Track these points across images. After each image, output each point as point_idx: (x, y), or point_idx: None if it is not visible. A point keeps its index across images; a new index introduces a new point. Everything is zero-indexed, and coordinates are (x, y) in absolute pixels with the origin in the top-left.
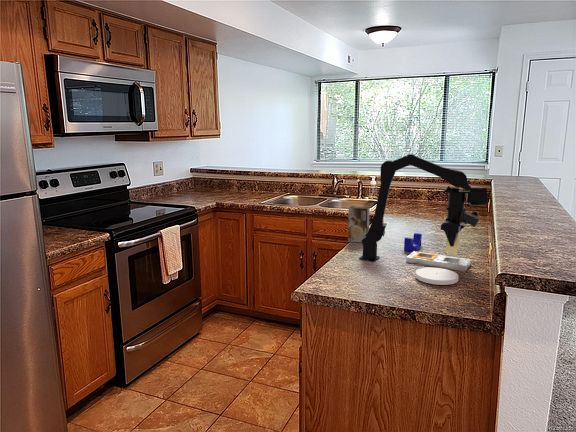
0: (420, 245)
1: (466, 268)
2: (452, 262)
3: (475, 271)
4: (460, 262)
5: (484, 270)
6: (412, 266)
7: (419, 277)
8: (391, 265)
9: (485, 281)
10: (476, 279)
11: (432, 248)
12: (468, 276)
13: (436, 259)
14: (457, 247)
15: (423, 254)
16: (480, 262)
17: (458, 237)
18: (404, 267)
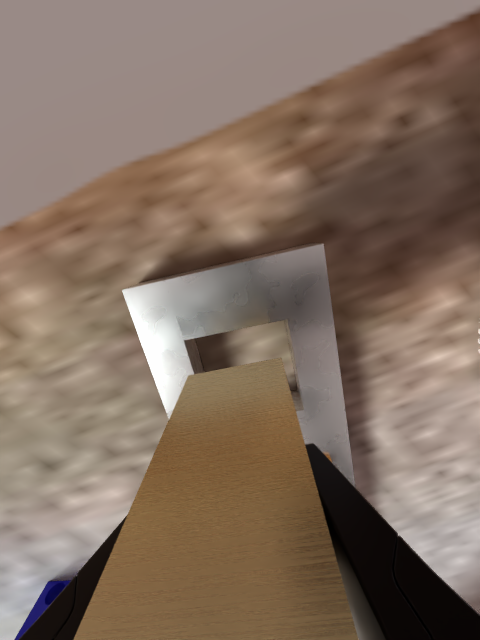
0: (50, 589)
1: (287, 249)
2: (298, 351)
3: (268, 189)
4: (259, 311)
5: (198, 147)
6: (409, 486)
7: None
8: (452, 550)
9: (473, 13)
10: (457, 98)
11: (30, 539)
12: (416, 178)
13: None
14: (291, 400)
15: None
16: (41, 250)
17: (321, 531)
18: (450, 504)
